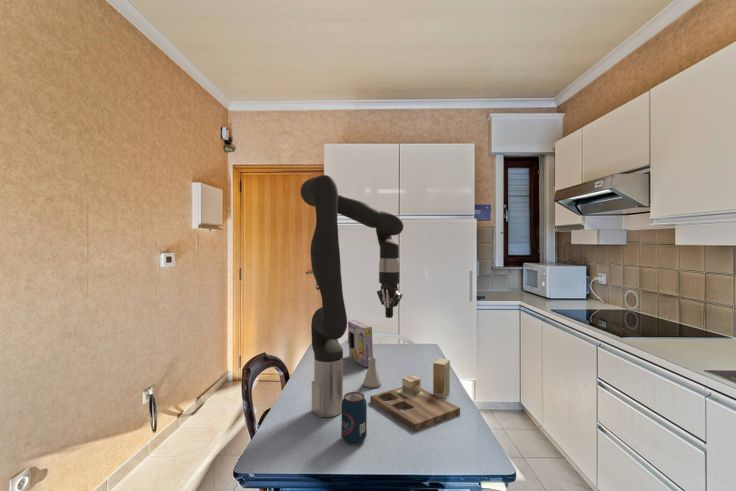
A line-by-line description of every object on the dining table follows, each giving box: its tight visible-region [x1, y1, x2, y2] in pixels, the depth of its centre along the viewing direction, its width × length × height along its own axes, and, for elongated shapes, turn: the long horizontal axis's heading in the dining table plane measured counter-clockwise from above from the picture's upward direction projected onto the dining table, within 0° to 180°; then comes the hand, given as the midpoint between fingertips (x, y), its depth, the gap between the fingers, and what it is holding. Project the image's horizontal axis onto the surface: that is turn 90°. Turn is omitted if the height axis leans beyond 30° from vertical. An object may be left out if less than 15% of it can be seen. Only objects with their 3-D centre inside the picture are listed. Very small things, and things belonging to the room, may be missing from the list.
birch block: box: [401, 374, 421, 395], centre depth 126 cm, size 4×4×4 cm
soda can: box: [340, 391, 368, 446], centre depth 98 cm, size 7×7×12 cm
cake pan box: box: [347, 319, 374, 368], centre depth 165 cm, size 19×5×18 cm, turn 25°
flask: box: [362, 357, 382, 389], centre depth 137 cm, size 7×7×10 cm
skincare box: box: [432, 357, 451, 400], centre depth 128 cm, size 6×4×12 cm
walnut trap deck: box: [369, 386, 461, 432], centre depth 118 cm, size 19×23×2 cm
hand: (389, 317), depth 131 cm, fingers closed
